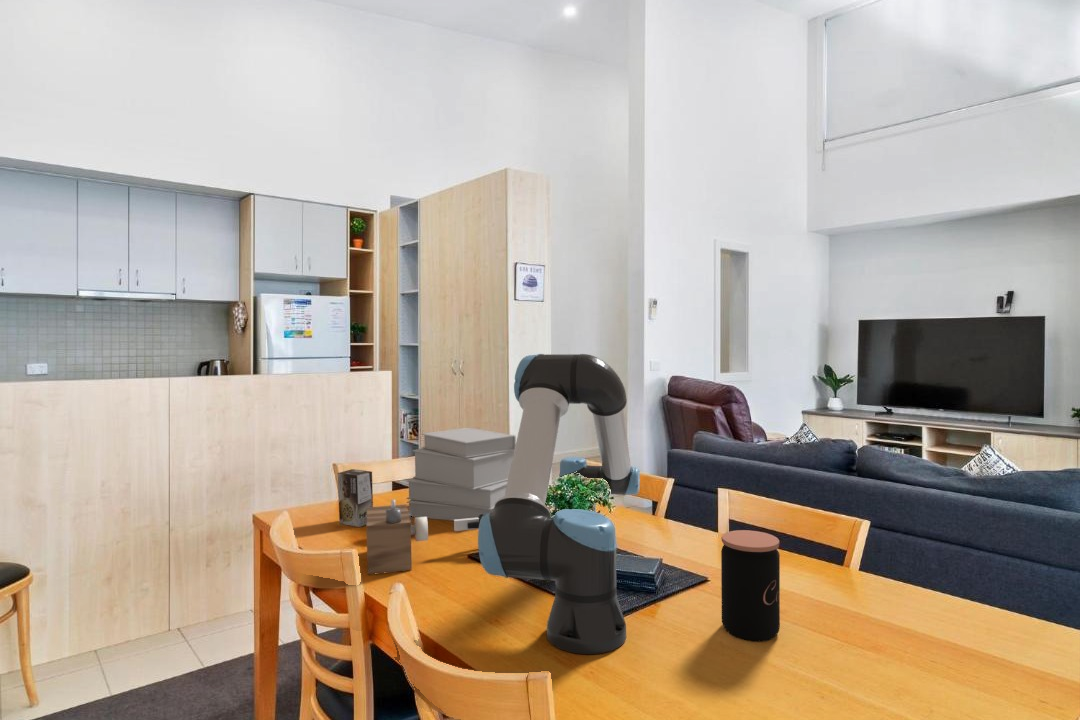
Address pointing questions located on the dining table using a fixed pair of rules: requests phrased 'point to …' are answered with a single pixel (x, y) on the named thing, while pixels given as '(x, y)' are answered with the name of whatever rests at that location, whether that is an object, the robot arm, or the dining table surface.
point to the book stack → (460, 473)
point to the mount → (388, 541)
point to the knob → (420, 529)
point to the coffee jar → (750, 585)
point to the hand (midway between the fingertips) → (454, 525)
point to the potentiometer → (393, 514)
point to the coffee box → (354, 496)
